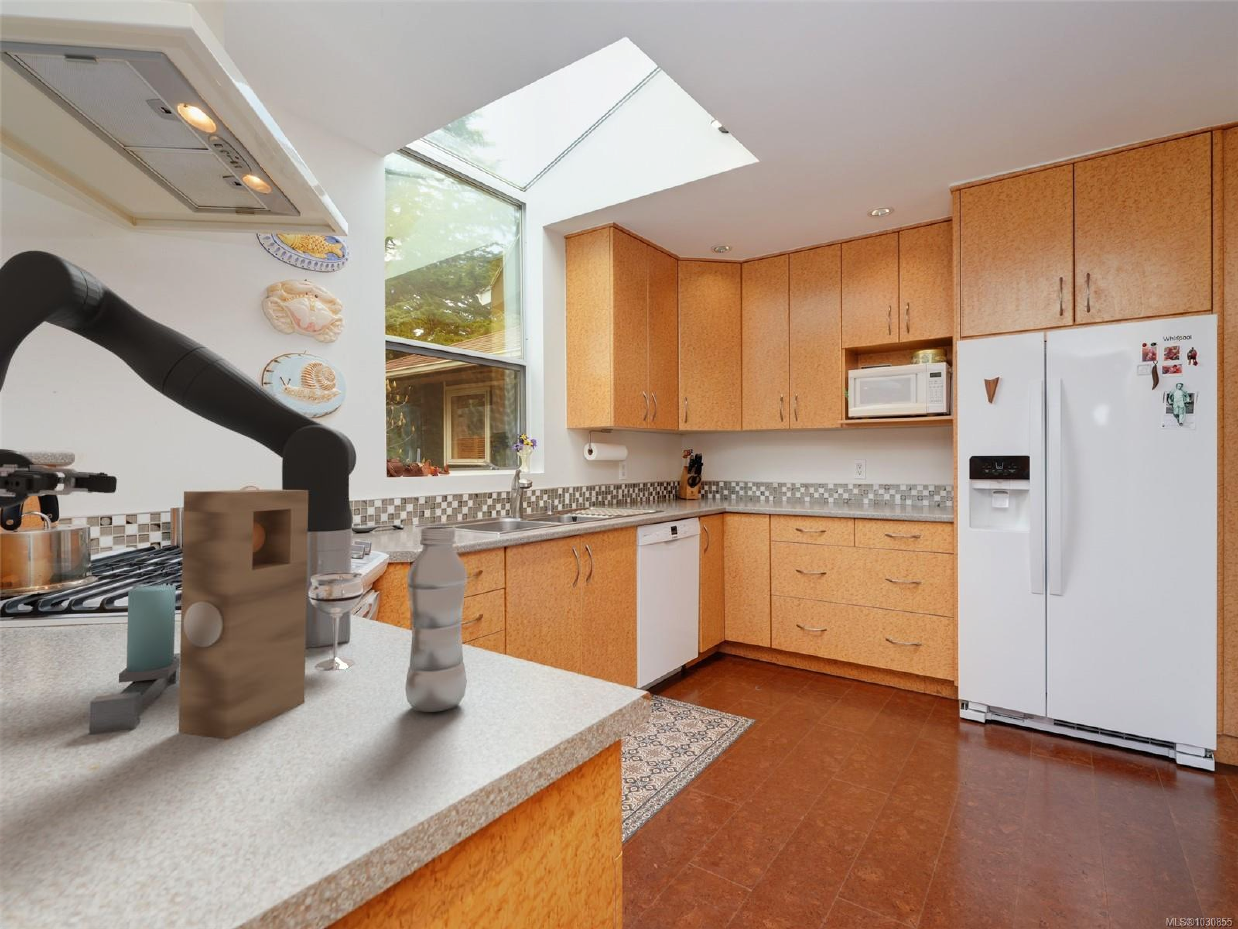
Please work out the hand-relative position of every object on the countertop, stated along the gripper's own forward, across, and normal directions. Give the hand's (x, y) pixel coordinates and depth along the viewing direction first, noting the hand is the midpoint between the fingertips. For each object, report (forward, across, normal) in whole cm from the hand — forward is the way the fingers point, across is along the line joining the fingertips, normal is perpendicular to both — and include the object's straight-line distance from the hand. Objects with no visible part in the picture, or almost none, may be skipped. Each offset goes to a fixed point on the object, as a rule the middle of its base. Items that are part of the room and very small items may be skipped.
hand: (77, 484), depth 74 cm
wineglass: (+27, +14, +23) cm, 38 cm away
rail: (+15, -3, +24) cm, 28 cm away
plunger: (+26, -3, +6) cm, 27 cm away
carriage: (+13, 0, +21) cm, 25 cm away
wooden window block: (+30, -3, +23) cm, 37 cm away
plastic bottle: (+48, +4, +22) cm, 53 cm away
